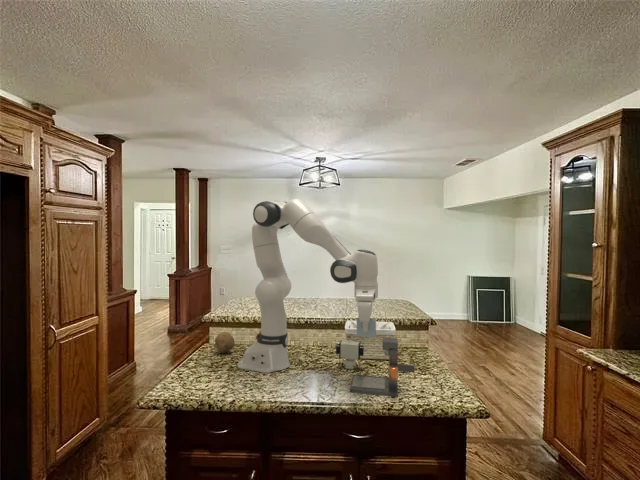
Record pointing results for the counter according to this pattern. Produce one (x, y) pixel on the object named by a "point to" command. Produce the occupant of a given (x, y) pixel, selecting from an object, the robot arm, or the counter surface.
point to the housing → (371, 328)
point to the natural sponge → (224, 342)
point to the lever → (393, 373)
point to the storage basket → (371, 339)
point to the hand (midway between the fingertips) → (366, 329)
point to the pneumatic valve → (350, 352)
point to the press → (381, 383)
